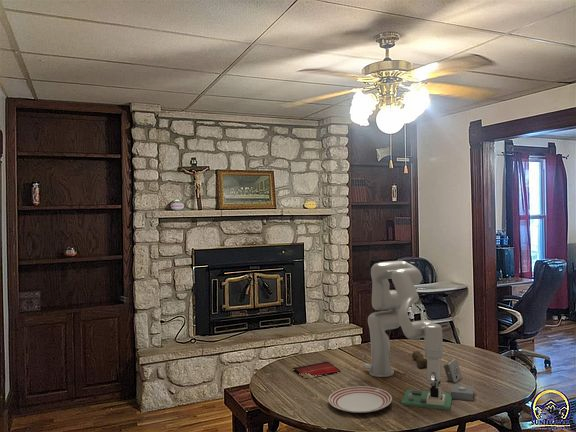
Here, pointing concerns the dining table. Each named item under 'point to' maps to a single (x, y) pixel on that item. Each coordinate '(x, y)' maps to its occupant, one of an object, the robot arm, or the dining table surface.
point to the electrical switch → (453, 371)
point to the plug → (438, 392)
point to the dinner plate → (360, 399)
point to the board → (426, 399)
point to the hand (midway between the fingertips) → (435, 392)
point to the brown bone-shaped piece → (419, 359)
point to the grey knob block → (462, 392)
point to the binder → (318, 369)
